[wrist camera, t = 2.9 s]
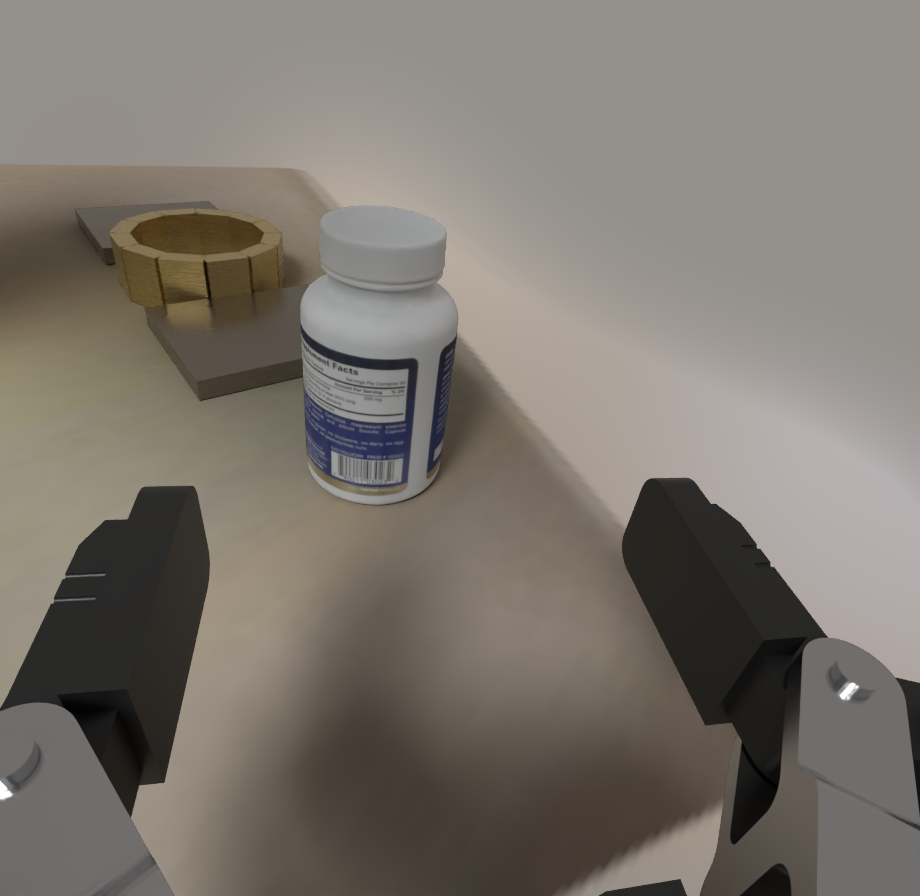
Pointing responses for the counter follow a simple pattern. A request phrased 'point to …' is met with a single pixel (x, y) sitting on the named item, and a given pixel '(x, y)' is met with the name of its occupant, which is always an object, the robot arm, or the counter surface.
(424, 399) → the pill bottle
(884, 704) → the robot arm
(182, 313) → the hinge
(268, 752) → the counter surface
